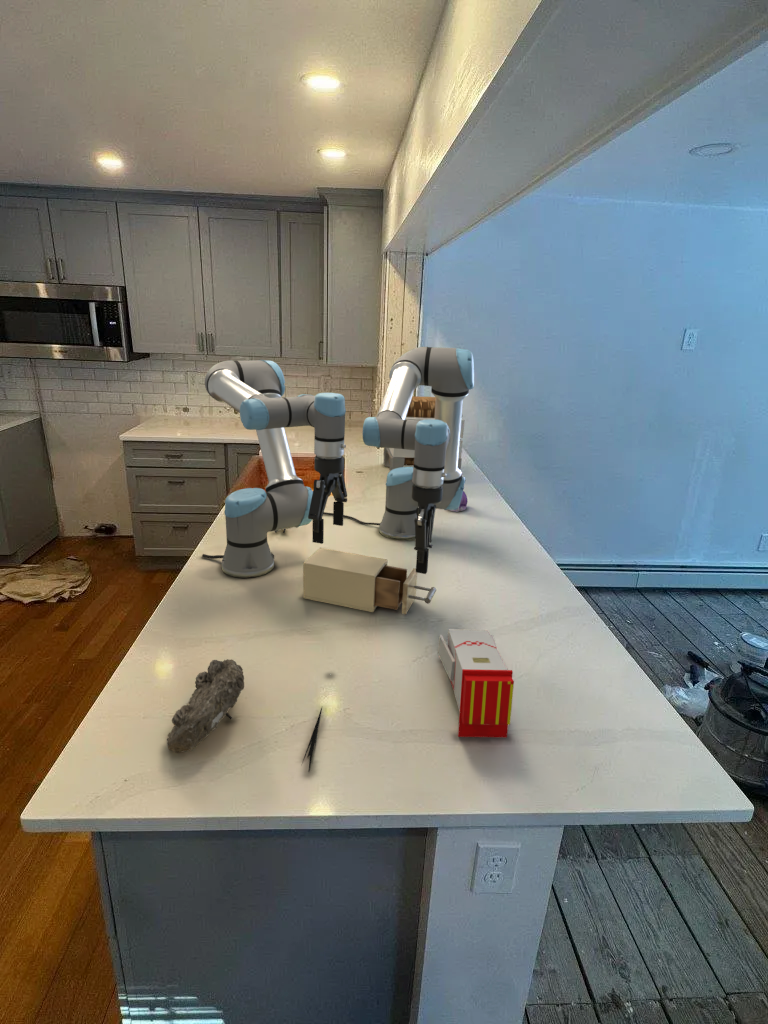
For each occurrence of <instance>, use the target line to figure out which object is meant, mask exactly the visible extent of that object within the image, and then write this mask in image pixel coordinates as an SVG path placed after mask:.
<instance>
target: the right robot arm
mask: <svg viewBox="0 0 768 1024" xmlns="http://www.w3.org/2000/svg"><path fill="white" fill-rule="evenodd" d="M474 363H475V361H474V354H473V352H472V351H471V350H469V349H465V348H459V347H437V346H435V347H434V346H418V347H415V348H412V349H410V350H408V351H406V352H404V353H403V354H401V356H399V357H398V358H397V359H395V361H394V362H393V364H392V366H391V368H390V370H389V375H388V378H389V382H388V386H387V388H386V391H385V393H384V396H383V399H382V401H381V404H380V406H379V409H378V412H377V414H376V416H368V417H366V418H365V419H364V421H363V423H362V424H363V425H362V442H363V444H364V445H365V446H367V447H375V448H378V449H379V448H381V449H382V448H383V449H384V448H396V449H406V450H415V454H414V466H404V467H400V468H396V469H393V470H391V471H390V470H389V472H388V473H387V475H386V482H385V504H384V505H385V507H384V508H385V509H384V513H383V515H382V519H381V522H365V521H361V520H359V519H358V518H355V517H354V516H350V515H345V514H343V518H346V519H350V520H353V521H355V522H357V523H359V524H361V525H367V526H378V533H379V534H380V535H381V536H382V537H385V538H387V539H389V540H395V541H410V540H414V547H413V550H414V551H416V562H415V569H416V573H417V574H423V575H427V573H428V567H429V556H430V555H429V553H430V552H429V551H430V549H432V548H433V544H431V543H432V540H433V539H432V538H433V531H434V530H433V529H434V523H435V515H436V509H437V510H444V511H448V510H449V511H450V510H456V509H458V508H459V506H460V502H461V498H462V494H463V491H464V489H465V484H466V477H465V476H463V475H462V476H461V474H462V472H463V471H462V469H461V470H460V469H459V468H458V455H459V443H460V439H461V438H460V431H461V419H463V403H464V399H465V398H466V397H467V396H469V394H470V393H469V392H470V390H473V389H474V388H475V364H474ZM419 386H423V387H431V391H430V392H431V394H432V396H433V397H436V402H435V419H434V420H431V419H428V420H421V421H415V420H405V418H406V415H407V412H408V409H409V405H410V402H411V399H412V396H414V392H415V390H416V389H417V388H418V387H419ZM323 515H325V516H326V515H328V516H333V512H325V511H324V513H323Z"/></svg>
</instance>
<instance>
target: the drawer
mask: <svg viewBox="0 0 768 1024" xmlns="http://www.w3.org/2000/svg"><path fill="white" fill-rule="evenodd" d="M417 582H418V573H416V567H413V568H412V570H411V571H410V573H408V569H407V568H404V567H403V568H402V567H397V566H393V565H388V564H387V565H385V566H384V567H383V568H382V570H381V571H380V572H379V574H378V575H377V576H376V577H375V600H374V605H375V606H377V607H380V608H385V609H390V610H395V611H398V609H400V607H401V614H402V615H407V614H408V611H409V610H410V609H411V606H412V604H414V602H415V600H416V601H421V602H424V603H425V604H428V605H429V604H431V602H432V600H433V598H434V595H435V594H436V592H437V587H435V586H431V587H425V586H419V585H418V584H417ZM417 590H421V591H427V595H426V596H425V597H422V596H418V595H417ZM416 595H417V596H416Z"/></svg>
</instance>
